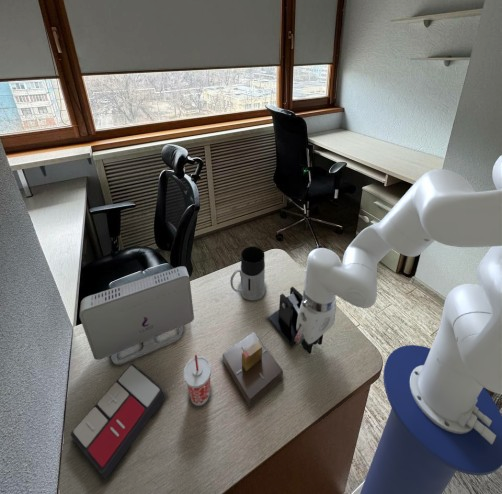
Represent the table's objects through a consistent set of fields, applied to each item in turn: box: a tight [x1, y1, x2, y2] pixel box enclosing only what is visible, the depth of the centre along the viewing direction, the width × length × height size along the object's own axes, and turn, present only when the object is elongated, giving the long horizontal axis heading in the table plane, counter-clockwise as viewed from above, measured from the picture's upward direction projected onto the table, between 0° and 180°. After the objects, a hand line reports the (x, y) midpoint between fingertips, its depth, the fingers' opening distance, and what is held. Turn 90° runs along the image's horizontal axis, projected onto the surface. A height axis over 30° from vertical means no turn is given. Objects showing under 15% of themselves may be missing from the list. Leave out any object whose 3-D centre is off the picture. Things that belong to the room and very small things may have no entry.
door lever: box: [286, 293, 319, 346], centre depth 73 cm, size 13×3×3 cm
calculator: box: [70, 363, 166, 479], centre depth 58 cm, size 11×4×15 cm
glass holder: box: [230, 246, 266, 301], centre depth 86 cm, size 9×14×15 cm, turn 139°
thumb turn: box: [242, 341, 262, 371], centre depth 66 cm, size 5×2×5 cm, turn 127°
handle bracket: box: [267, 286, 303, 348], centre depth 77 cm, size 10×8×12 cm
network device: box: [79, 265, 195, 366], centre depth 72 cm, size 26×9×20 cm, turn 116°
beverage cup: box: [183, 354, 212, 406], centre depth 61 cm, size 6×6×14 cm
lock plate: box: [222, 331, 284, 407], centre depth 68 cm, size 12×10×3 cm
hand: (311, 344), depth 72 cm, fingers closed on door lever, 3 cm apart
